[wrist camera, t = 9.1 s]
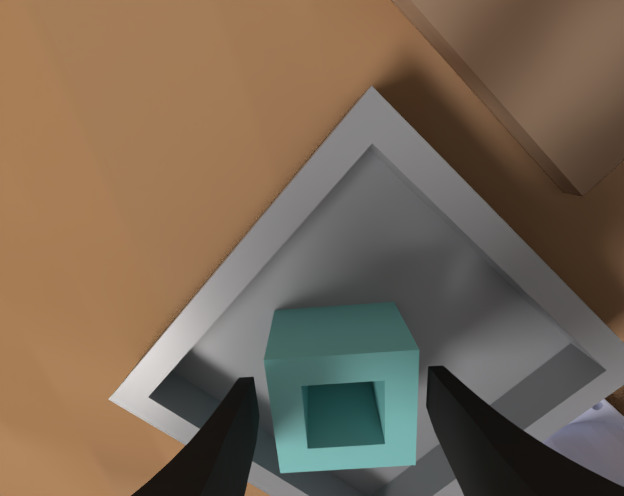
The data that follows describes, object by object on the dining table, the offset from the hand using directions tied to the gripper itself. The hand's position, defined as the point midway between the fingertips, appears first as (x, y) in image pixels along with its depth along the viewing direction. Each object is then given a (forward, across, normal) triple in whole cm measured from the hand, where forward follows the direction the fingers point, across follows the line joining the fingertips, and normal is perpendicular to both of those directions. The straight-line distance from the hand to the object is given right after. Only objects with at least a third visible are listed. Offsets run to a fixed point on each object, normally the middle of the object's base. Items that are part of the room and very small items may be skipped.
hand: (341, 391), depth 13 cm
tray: (+3, -1, 0) cm, 3 cm away
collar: (+2, 0, 0) cm, 2 cm away
